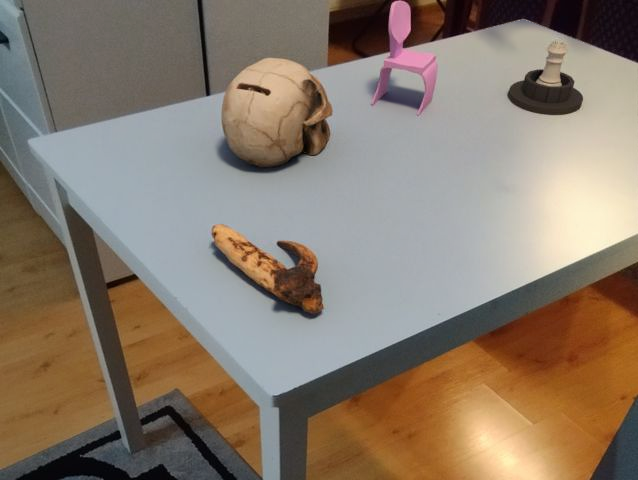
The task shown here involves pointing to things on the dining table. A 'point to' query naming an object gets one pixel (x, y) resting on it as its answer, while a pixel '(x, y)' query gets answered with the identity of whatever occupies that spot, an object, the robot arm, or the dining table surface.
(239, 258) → the lashed bone hook
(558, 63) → the rook chess piece
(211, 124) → the dining table surface
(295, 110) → the coin bank
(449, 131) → the dining table surface
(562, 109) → the socket pad
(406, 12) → the toy chair
